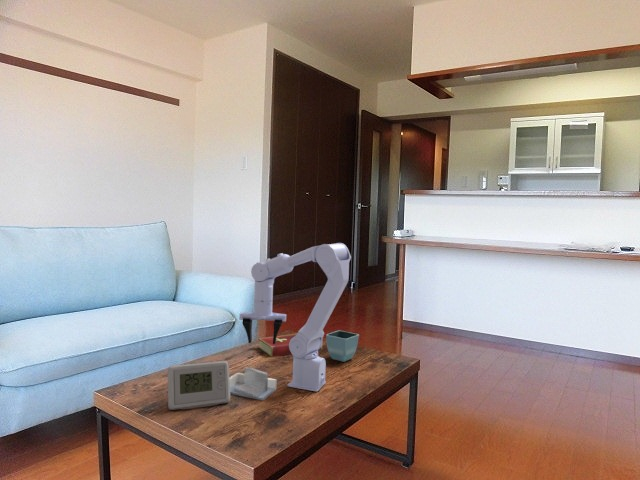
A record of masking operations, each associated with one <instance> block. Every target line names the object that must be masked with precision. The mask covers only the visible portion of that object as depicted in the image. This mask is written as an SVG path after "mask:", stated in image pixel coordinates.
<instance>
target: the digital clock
mask: <svg viewBox="0 0 640 480" xmlns="http://www.w3.org/2000/svg"><path fill="white" fill-rule="evenodd" d="M229 377H230V366H229V362H228V361H227V360H221V361H202V362H192V363H191V362H190V363H184V364H178V365H177V364H176V365H175V364H174V365H170V366H169V367H168V368H167V404H168V405H167V407H168V410H170V411H173V410H174V411H175V410H188V409H189V410H190V409H198V408H203V407H204V408H205V407H211V406H212V407H213V406H218V405H220V404H228V403H229V402H230V401H231V394H230V380H229Z"/></svg>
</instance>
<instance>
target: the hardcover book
mask: <svg viewBox="0 0 640 480" xmlns="http://www.w3.org/2000/svg"><path fill="white" fill-rule="evenodd" d="M296 335H297V333H292V334H285V335H277V337H276V343H275V344H273V336H269V337H261V338H258V339H257V340H258V341H259V349H261V350H262V351H263V352H265V353H266V354H267V355H269V356H270V357H278V356H280V357H281V356H286V355H292V353H291V352H290V349H289V343H290V340H291V339H292V338H293V337H295V336H296ZM321 350H323V345H322V346H321V348H320V349H319V350H318V351H321Z"/></svg>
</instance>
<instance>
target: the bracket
mask: <svg viewBox="0 0 640 480" xmlns="http://www.w3.org/2000/svg"><path fill="white" fill-rule="evenodd" d="M243 374H244V384H242V385H239V386H237V387H234V390H235V391H237V392H240V393H243V394H245V395H248V396H251V397H254V398H255V397H258V396H260V395H262V394H264V393H267V388H268V378H269V373H268V372H266V371H263V370H259V369H256V368H253V367H250V366H246V367H244V373H243Z"/></svg>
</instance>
